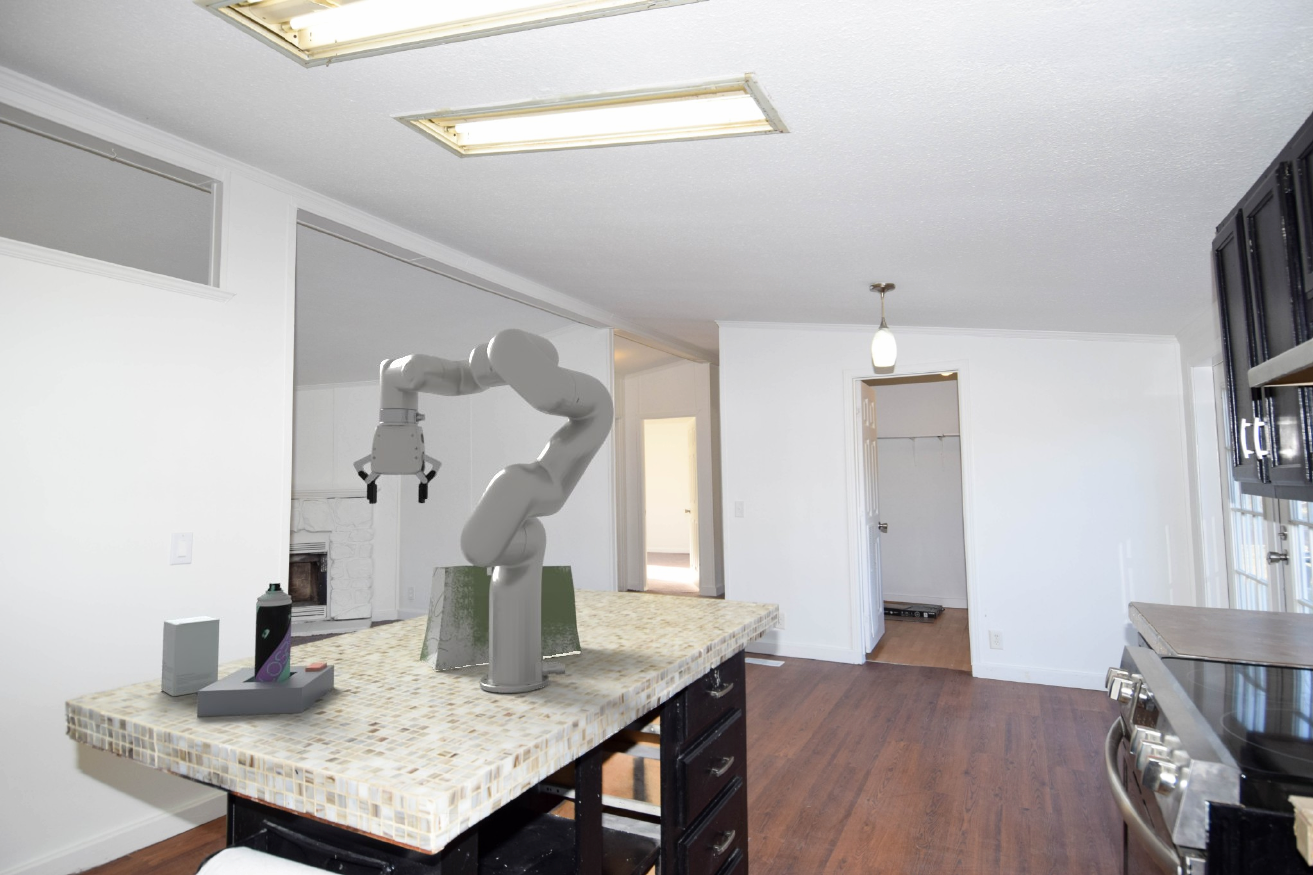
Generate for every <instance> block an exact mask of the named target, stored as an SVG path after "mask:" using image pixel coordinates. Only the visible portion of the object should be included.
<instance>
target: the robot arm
mask: <svg viewBox="0 0 1313 875" xmlns="http://www.w3.org/2000/svg"><path fill="white" fill-rule="evenodd" d="M559 361H560V357H559V352H558V350H557V348H556V347H555V345H554V344H553V343H552V342H551V341H550V340H549V339H547V338H545V337H544V336H541V335H537V334H535V333H531V332H528V331H525V330H523V329H522V330H521V329H519V328H505V329H503V330H501V331H499V332H498V333H496V334H494V336H493V337H492V338H491V340H490V341H489V342H486V343H481V344H478V345H476V346H475V347H474V348H473V350H472V351H471V353H470V356H469V359H468V358H467V359H461V360H460V359H459V360H451V359H447V358H441V357H437V356H435V355H433V356H431V355H429V354H423V353H412V354H410V355H406V356H404V357H401V358H387V359H384V360H383V361H382V362H381V364H380V368H379V413H378V414H379V418H378V419H379V420H378V424H379V425H376V426H375V428H374V433H373V437H372V445H371V453H370V454H368V455H366V456H364V457H363V458H360V459H358V460H355V461H354V462H353V463H352V464H353V465H352V466H353V467H354V469H355V471H356V472H357V475H358V476H359V477H360V478H361V480H362V481H363V482H364V483H365V484H366V500H368V503H369V504H370V505H376V504H377V502H378V499H377V498H378V485H377V483H376V482H377V480H378V479H379V478H380V477H381V475H384V476H388V475H389V476H393V475H394V476H401V475H403V476H406V475H407V476H408V475H411V476H412V475H413V476H414V475H415V476H416V477H417V478H418V479H419V482H420V483H418V489H417V490H418V494H417V496H418V500H417V502H418V503H419V504H425V503H426V500H428V498H429V483H431V481H432V480H433V479H435V477H436V476H437V474H438V472H439V471H440V469H441V467H442V465H443V462H441V461H440V460H437V459H436V458H434V457H432V456H430V455H428V454H427V453H426V448H425V447H426V446H425V445H426V444H425V438H424V430H423V427H422V426H420V425H419V424H420V422H423V421H425V420H426V415H425V414H426V413H425V414H424V413H420V412H419V393H425V394H432V395H437V396H444V397H459V396H465V395H466V396H468V395H474V394H479V393H480V394H481V393H483V392H485V391H487V390H489V389H490V388H497V387H501V386H509V387H510V388H511V389H513V391H514V392H516V394H518V395H519V396H520V397H521V398H522V399H523V400H524V401H526V402H527V403H528V404H529V405H530V406H531V407H532V408H534V409H535V410H536V411H539V412H540V413H543V414H545V415H550V416H556V417H561V418H562V417H563V418H567V420H566V422H565V423H564V425H562V426H561V427H560V428H559V429H558V430H556V431H555V432H554V434H553V435H552V436H551V437H550V438H549V439H548V441H547V442H546V444H545V446H544V448H543V449H542V451H541V453H540V454H539V456H538V457H537V458H536V459H535V461H534V462H532V463H513V464H510V465H507V466H505V467H504V468H502V469H501V470H499V471H498V472H497V473H496V475H494V476H493V478H492V479H491V480H490V482H489V484H488V485H487V487H486V488H485V490H484V491H483V493H482V495H481V497H480V498H479V500H477V503H476V505H475V506H474V508H473V510H472V512H471V513H470V514H469V516H468V518H467V520H466V521H465V523H464V526H463V528H462V531H461V534H460V540H459V541H460V542H459V543H460V551H461V554H462V555H463V558H464V559H465V560H466V561H467V563H469V564H471V566H473V565H474V566H477V567H494V570H493V573H492V576H491V581H490V588H489V665H488V675H485V676H483V677H481V678H480V680H479V687H480V688H481V689H482V690H484V691H487V692H491V693H497V692H498V694H499V693H500V694H513V693H517V694H518V693H524V692H525V693H527V692H531V691H530V690H532V691H536V690H535V689H537V690H539V689H538V688H540V689H542V688H541V687H543V686H545V687H546V686H548V685H549V684H548V683H550V675H566V663H565V662H563V663H562V662H561V663H560V661H553V662H548V661H547V660H546V661H545V660H544V659H543V655H541V581H542V567H543V566H544V561H545V554H546V549H547V532H546V529H545V526H544V524H543V523H542V521H541V520H540V519H539V518H541V517H549V516H552V515H553V516H554V514H556V513H558V512H559V511H560V510H562V508H563V507H564V505H565V504H566V503H567V501H568V499H569V497H570V496H571V494H572V492H573V491H574V489H575V488H576V487H577V485H578V483H579V481H580V480H581V478H582V477H583V475H584V474H585V473H586V470H587V469H588V467H589V465H590V463H592V461H593V459H594V458H595V456H596V454H597V453H598V452H599V450H600V449H601V448H602V446H603V445H604V443H605V441H606V440H607V438H608V436H609V434H610V431H611V429H612V426H613V423H614V416H615V415H614V414H615V413H614V412H615V411H614V408H615V407H614V402H613V399H612V396H611V393H610V391H609V390H608V388H607V387H606V386H605V384H604V383H602V382H601V381H600V380H599V379H598V378H596V377H594V376H593V375H590V374H588V373H585V372H582V371H581V372H580V371H578V370H577V371H576V370H573V369H569V368H565V367H561V366H559ZM369 463H370V471H371V472H370V473H369V474H368V472H367V471H366V470H365V469H364V466H365V465H367V464H369ZM426 463H428V464H430V465H432V468H431V470H430V471H429V472H428V473H427V474H426V473H425V470H426ZM543 688H544V687H543Z"/></svg>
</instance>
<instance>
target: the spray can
mask: <svg viewBox="0 0 1313 875" xmlns="http://www.w3.org/2000/svg"><path fill="white" fill-rule="evenodd" d="M268 585H269V586H268V588H267V590H265V593H264V594H263V593H262V595H261V596H259V597H257V598H256V600H257V601H256V605H255V635H254V636H255V641H254V642H255V643H254V644H255V646H254V667H255V669H254V682H275V681H284V680H286V679H287V678H289V677H290V666H291V651H292V650H291V647H292V646H291V645H292V644H291V643H292V642H291V640H292V611H293V610H292V607H293V605H292V604H293V600H292V595H289V594H288V593H286V592H284V591H285V590H284V589H282V587H281V583H280V582H279V583H270V582H269V584H268Z"/></svg>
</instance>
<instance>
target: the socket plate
mask: <svg viewBox="0 0 1313 875" xmlns="http://www.w3.org/2000/svg"><path fill="white" fill-rule="evenodd" d="M254 669H255V666H254V667H253V666H252V667H242V668H239V669H237V670H236V671H234V672H232V673H230V674H227V675H226V676H224V677H223V678H221V679H218V681H216V682H214V683H212V684H211V685H209V686H207V687H205V688H203V689H201V690H199V691H198V692H197V708H196V710H197V712H196V716H197V717H220V716H221V717H222V716H223V717H224V716H243V715H244V716H246V715H271V714H275V715H276V714H279V715H280V714H300V713H303V712H304V711H306V709H308V708H309V707H311V706H312V705H313V704H314V703H315V702H317V701H318V700H319V699H320V698H322V697H323V696H325V694H327V693H328V692H330V691H331V690H332V689H333V688H335V687H334V686H335V665H334V664H329V665H328V663H327V661H326V662H325V661H324V662H312V663H311V664H309V665H294V666H293V665H290V677H289V678H287V679H286V680H284V681H275V682H254Z"/></svg>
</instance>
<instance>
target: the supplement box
mask: <svg viewBox="0 0 1313 875" xmlns="http://www.w3.org/2000/svg"><path fill="white" fill-rule="evenodd" d="M162 630H163V634H162V639H163V640H162V659H161V660H162V661H161V663H162V664H161V668H162V669H161V688H160V689H161V691H163V692H164V693H166V694H168V695H170V696H172V697H178V696H183V695H185V696H186V695H190V694H195V693H196V694H197V693H198V691H199V690H201V689H203V688H205V687H207V686H209V685H211V684H212V683H214V682H216V681H218V680H219V648H220V646H219V644H220V618H215V617H212V616H208V615H201V616H192V617H183V618H177V619H169V620H164V621H163V629H162Z"/></svg>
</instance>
